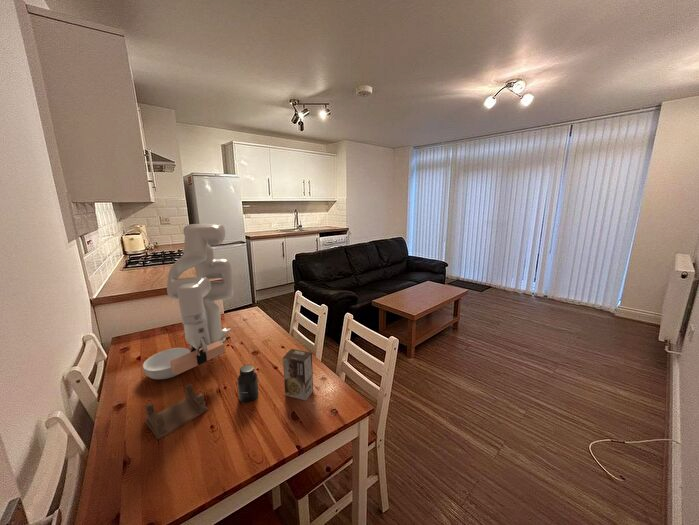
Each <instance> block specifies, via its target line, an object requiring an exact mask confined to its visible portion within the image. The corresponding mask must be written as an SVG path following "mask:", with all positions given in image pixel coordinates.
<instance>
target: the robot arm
mask: <svg viewBox="0 0 699 525" xmlns="http://www.w3.org/2000/svg"><path fill="white" fill-rule="evenodd" d="M182 232H183V235H184V244H183V255H182V256H181V257H179V258H178V259H177V260H176V261H175V262H174V263H173V265H172V266H171V267H169V268H170V269H169V270H168V275H167V281H166V282H167V283H166V291H167V292H166V293H167V295H168V296H169V297H170V298H171V299H174V300H175V299H176V300H177V299H178V305H179V310H180V311H179V312H180V313H179V314H180V319H181V324H182V325H183V331H184V338H185V341H186V343H188V345H189V350H190V351H191V352H193V351H195V350H197V355H196V356H197V363H198V365H197V366H200V365H202V364H204V363H206V362H208V361H207V357H206V351H207V350H208V349H207V345H210V344H212V343H214V342H217V341H220V342H222V343H223V344H224V342H226V340H227V336H226V335H227V334H229V333H232V328H226V327H225V328H223V327H222V319H221V311H220V310H221V309H220V305H218V303H216V302H215V301H223V300H230V299H232V298H233V296H234V285H233V284H234V283H233V273H232V272H233V271H232V265H231V262H230V261H229V259H225V258H217V259H216V258H215V256H214V249H213V248H212V245H221V244H222V243H223V242H224V240H225V238H226V230H225V227H224V225H223V224H222V223H192V224H186V225H185V226H184V227H183V230H182ZM192 268H194V271H195V276H194V277H183V278H181V277H180V276H182V274H183V273H184V272H186V271H188V270H190V269H192ZM179 277H180V278H179ZM213 279H214V280H215V279H221V280H215V281H210V280H213ZM222 328H223V329H222ZM200 348H202V350H200V351H199V349H200Z"/></svg>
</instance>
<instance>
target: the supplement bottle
mask: <svg viewBox="0 0 699 525" xmlns="http://www.w3.org/2000/svg"><path fill="white" fill-rule="evenodd" d="M258 379H259V378H258V374H257V373H256V371H255V367H254V366H253V365H252V364H246V365H243V366H241V367H240V369H239V375H238V377H237V389H238V392H237V393H238V400H239V401H240V402H242V403H245V404H249V403H252V402H254V401H256V399H257V398H258V396H259V382H258Z"/></svg>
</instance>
